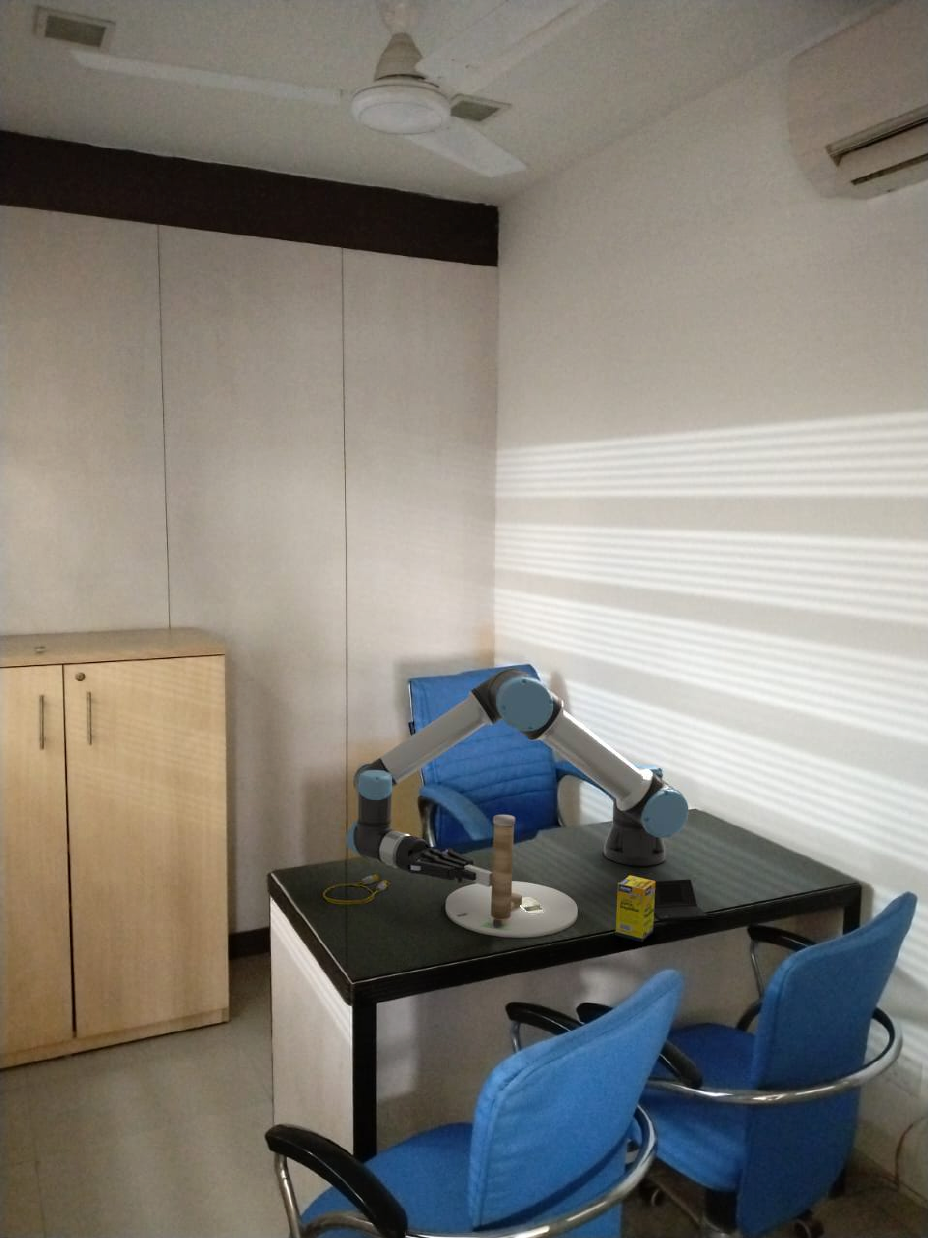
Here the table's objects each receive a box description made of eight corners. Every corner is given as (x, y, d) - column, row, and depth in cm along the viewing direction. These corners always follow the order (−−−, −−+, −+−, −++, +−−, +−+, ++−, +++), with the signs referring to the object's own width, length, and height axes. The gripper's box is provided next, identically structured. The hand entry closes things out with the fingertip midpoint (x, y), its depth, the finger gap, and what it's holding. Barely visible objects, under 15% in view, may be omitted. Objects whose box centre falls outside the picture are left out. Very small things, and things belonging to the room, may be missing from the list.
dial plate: (574, 889, 226) (574, 883, 226) (580, 941, 198) (581, 934, 198) (450, 883, 227) (450, 877, 227) (439, 933, 200) (439, 927, 199)
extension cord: (400, 899, 218) (400, 890, 218) (331, 910, 211) (331, 901, 211) (380, 881, 229) (380, 872, 229) (313, 890, 222) (313, 881, 222)
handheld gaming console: (666, 918, 207) (657, 871, 212) (648, 928, 212) (639, 882, 218) (712, 920, 211) (702, 873, 216) (693, 929, 217) (684, 884, 222)
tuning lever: (503, 898, 215) (507, 800, 213) (523, 900, 214) (527, 802, 212) (485, 926, 200) (488, 822, 198) (507, 929, 199) (510, 824, 197)
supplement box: (642, 943, 198) (645, 889, 197) (614, 935, 201) (617, 883, 200) (653, 933, 203) (656, 880, 202) (626, 926, 206) (628, 874, 205)
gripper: (424, 861, 223) (509, 889, 208) (384, 876, 213) (470, 906, 198) (425, 828, 222) (510, 854, 208) (385, 842, 212) (471, 869, 198)
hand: (491, 879), depth 203 cm, fingers closed
